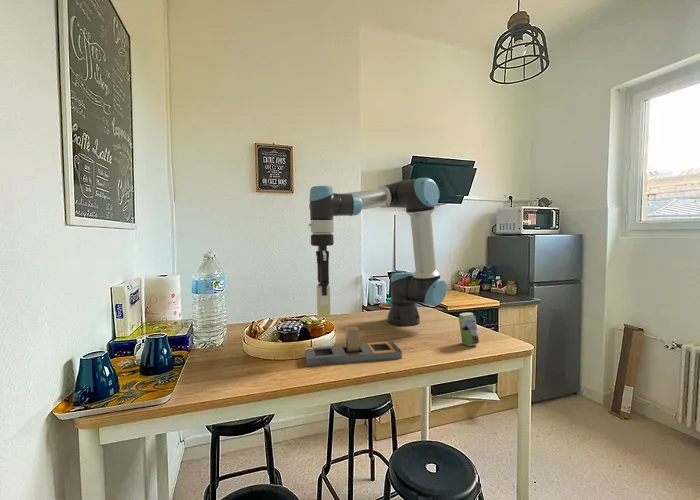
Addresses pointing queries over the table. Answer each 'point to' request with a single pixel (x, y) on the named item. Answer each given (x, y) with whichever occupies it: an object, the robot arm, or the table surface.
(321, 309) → the pale yellow block
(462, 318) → the beverage can
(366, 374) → the table surface
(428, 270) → the robot arm
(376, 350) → the grey peg insertion board
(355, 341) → the brown rectangular block
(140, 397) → the table surface
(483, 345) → the table surface
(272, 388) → the table surface
